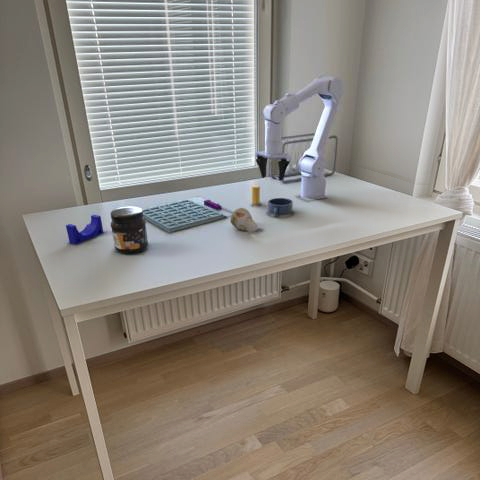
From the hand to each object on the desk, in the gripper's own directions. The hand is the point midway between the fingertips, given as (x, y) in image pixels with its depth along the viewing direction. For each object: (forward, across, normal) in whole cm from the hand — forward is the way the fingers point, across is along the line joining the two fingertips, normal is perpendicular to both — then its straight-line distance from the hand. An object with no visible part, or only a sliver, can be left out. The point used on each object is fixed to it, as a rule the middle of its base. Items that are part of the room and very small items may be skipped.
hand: (272, 178), depth 174 cm
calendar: (+10, -23, -25) cm, 36 cm away
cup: (+10, +8, -9) cm, 16 cm away
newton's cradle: (+11, -8, +44) cm, 46 cm away
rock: (+10, +6, -28) cm, 31 cm away
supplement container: (+10, -17, -60) cm, 63 cm away
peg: (+10, -5, -4) cm, 12 cm away
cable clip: (+10, -37, -61) cm, 72 cm away
